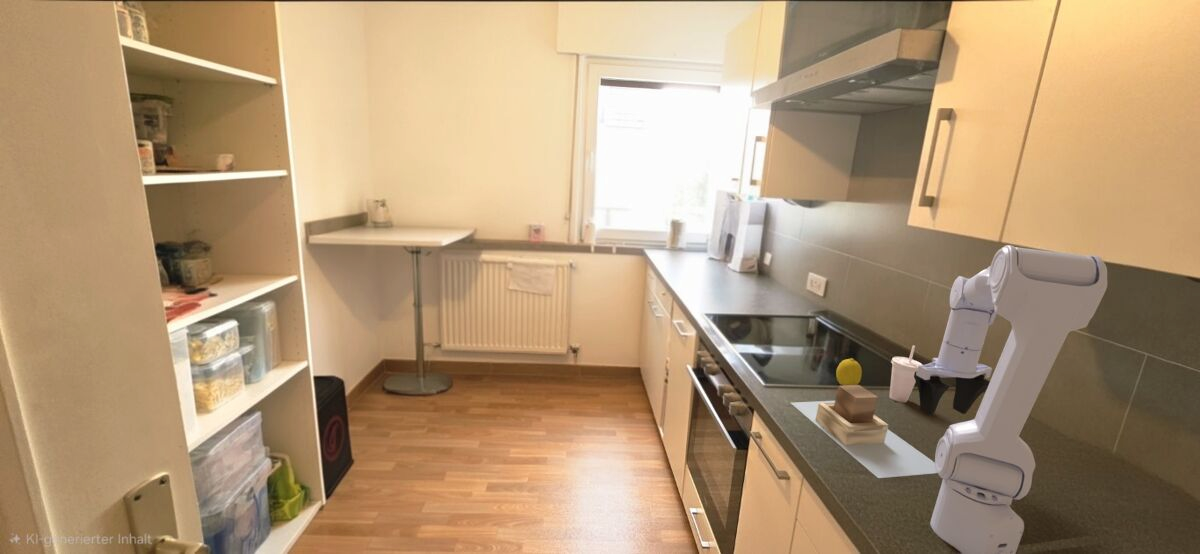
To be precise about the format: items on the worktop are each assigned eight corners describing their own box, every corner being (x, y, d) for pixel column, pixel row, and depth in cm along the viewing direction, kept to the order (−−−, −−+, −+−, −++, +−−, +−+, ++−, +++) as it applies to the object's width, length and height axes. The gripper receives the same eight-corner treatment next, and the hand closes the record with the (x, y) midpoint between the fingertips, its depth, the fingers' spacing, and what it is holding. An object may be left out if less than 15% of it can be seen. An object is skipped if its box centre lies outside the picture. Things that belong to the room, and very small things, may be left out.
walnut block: (871, 424, 94) (877, 397, 93) (849, 425, 93) (856, 397, 92) (853, 411, 99) (859, 385, 97) (832, 412, 98) (838, 385, 96)
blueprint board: (947, 475, 86) (948, 472, 86) (877, 482, 82) (878, 478, 82) (846, 403, 110) (847, 400, 110) (789, 405, 107) (790, 402, 107)
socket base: (884, 442, 93) (888, 424, 92) (845, 445, 91) (849, 427, 90) (851, 418, 102) (855, 401, 101) (815, 420, 100) (818, 403, 99)
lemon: (861, 395, 115) (868, 364, 113) (836, 391, 116) (843, 361, 114) (853, 385, 120) (860, 356, 118) (830, 381, 121) (836, 352, 119)
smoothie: (897, 405, 111) (911, 350, 108) (877, 392, 117) (889, 339, 114) (920, 404, 112) (935, 350, 109) (898, 391, 118) (912, 339, 115)
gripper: (972, 335, 90) (954, 399, 94) (910, 336, 87) (893, 402, 91) (1010, 350, 84) (989, 419, 87) (944, 351, 81) (925, 422, 84)
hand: (942, 412), depth 88 cm, fingers open, 7 cm apart
